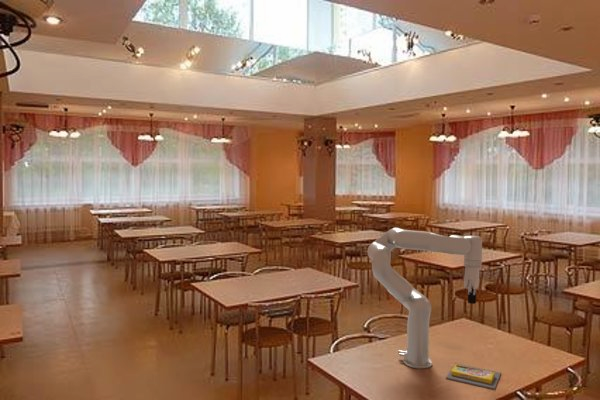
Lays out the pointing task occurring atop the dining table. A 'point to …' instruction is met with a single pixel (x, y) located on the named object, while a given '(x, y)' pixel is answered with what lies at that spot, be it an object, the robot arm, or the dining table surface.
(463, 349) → the dining table surface
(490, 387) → the mat
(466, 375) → the candy box
